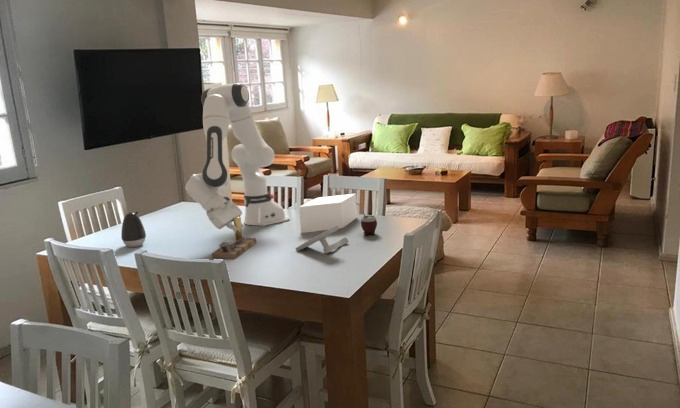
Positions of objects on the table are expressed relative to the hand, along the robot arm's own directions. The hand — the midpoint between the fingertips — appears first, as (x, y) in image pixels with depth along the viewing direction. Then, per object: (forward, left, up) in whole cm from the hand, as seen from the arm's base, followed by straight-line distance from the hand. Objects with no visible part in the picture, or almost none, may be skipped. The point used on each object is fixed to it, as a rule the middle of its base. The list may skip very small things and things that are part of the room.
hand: (239, 228), depth 241 cm
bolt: (+2, +1, -5) cm, 6 cm away
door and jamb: (+4, +4, -8) cm, 10 cm away
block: (-46, -12, -8) cm, 48 cm away
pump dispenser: (+41, -29, -8) cm, 51 cm away
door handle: (-30, +21, -8) cm, 38 cm away
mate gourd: (-54, +13, -8) cm, 56 cm away
